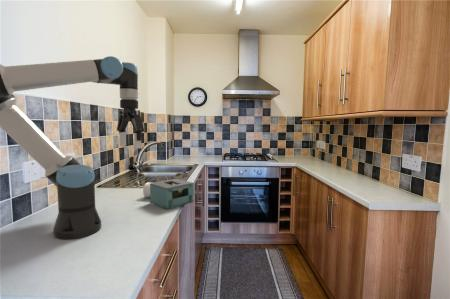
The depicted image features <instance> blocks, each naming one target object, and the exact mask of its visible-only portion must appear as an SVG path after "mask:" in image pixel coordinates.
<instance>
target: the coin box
mask: <svg viewBox="0 0 450 299" xmlns="http://www.w3.org/2000/svg"><path fill="white" fill-rule="evenodd" d="M171 184H176V185H171ZM181 189H183V192H182V194H181V197H179V198H175V199H172V191H176V190H181ZM149 200H150V201H149V202H150V204H152V205H155V206H156V207H159V208H161V209H162V208H163V209H165V210H170V209H173V208H177V207H181V206H185V205H188V204H191V203H194V182H191V181H187V180H183V179H181V178H180V179H179V178H173V179H166V180H161V181H157V182H150V199H149Z"/></svg>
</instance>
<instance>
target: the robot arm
mask: <svg viewBox="0 0 450 299" xmlns="http://www.w3.org/2000/svg"><path fill="white" fill-rule="evenodd" d="M138 80H139V72H138V66H137V65H136V64H135V63H133V62H125V61H123V62H122V61H121V60H120V59H119V58H117V57H115V56H113V55H112V56H106V57H103V58H97V59H84V60H72V61H70V60H69V61H60V62H59V61H58V62H47V63H46V62H45V63H33V64H31V63H30V64H21V65H9V66H8V65H7V66H5V65H3V64H2V63H0V129H1V130H3V131H4V133H5V134H7V135H8V136H9V137H10V138H11V139H12V140H14V142H15V143H17V144H18V145H19V146H20V147H21V148H22V149H23V150H24V151H25V152H26V153H27V154H28V156H30V157H31V158H32V159H33V160H35V162H37V163H38V165H39V166H41V168H43V169H44V170H45V172H44V176H45V177H46V178H47V179H48V180H49V181H50V182H51V183H52V184H53V185H54V186H55V187H56V189H57V207H58V211H57V216H56V218H55V223H54V226H53V228H52V229H53V236H54V238H57V239H60V240H61V239H62V240H72V239H73V240H74V239H80V238H84V237H87V236H90V235H93V234H95V233H98V232H99V231H100V230H101V229H102V220H101V217H100V215H99V212H98V210H97V208H96V190H95V178H96V175H95V169H94V168H93V167H92V166H90V165H85V164H81V163H80V162H78V160H77V159H76V158H75V157H73V156H72V155H66V154H65V153H64V152H63V151H62V150H61V149H60V148H59V146H57V145H56V143H55V142H54V141H52V139H50V138H49V137H48V136H47V134H45V133H44V132H43V130H42V129H40V127H39V126H38V125H37V124H35V122H34V121H33V120H32V119H31V118H30V117H29V116H28V115H27V114H26V113H25V112H24V111H23V110H22V109H21V108H20V107H19V106H18V105H17V97H16V96H15V95H14V94H13V93H14V92H21V91H29V90H37V89H44V88H53V87H59V86H60V87H61V86H68V85H69V86H70V85H77V84H85V83H90V82H91V83H94V84H95V83H97V84H104V85H116V86H117V85H118V86H119V99H120V101H119V108H120V109H123V110H119V116H118V121H117V126H116V127H117V128H116V131H117V132H118V133H119V147H127V131H126V129H127V127H128V124H129V122H130V123H131V125H132V127H133V130H134V132H133V133H134V136H133V137H134V149H142V133H143V132H145V127H144V123H143V120H142V118H141V117H142V116H141V110H140V109H139V100H138V99H139V92H138V87H139V85H138V83H139V81H138Z"/></svg>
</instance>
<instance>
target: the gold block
mask: <svg viewBox="0 0 450 299" xmlns="http://www.w3.org/2000/svg"><path fill="white" fill-rule="evenodd" d="M171 185H176V184H171ZM182 192H183V189H181V190H176V191H172V199H175V198H179V197H181V194H182Z"/></svg>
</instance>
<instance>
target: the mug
mask: <svg viewBox="0 0 450 299" xmlns="http://www.w3.org/2000/svg"><path fill="white" fill-rule="evenodd" d="M150 183H151V182H146V183H144V185H143V190H142V191H143V192H142V194H143V196H144V198H150Z"/></svg>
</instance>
